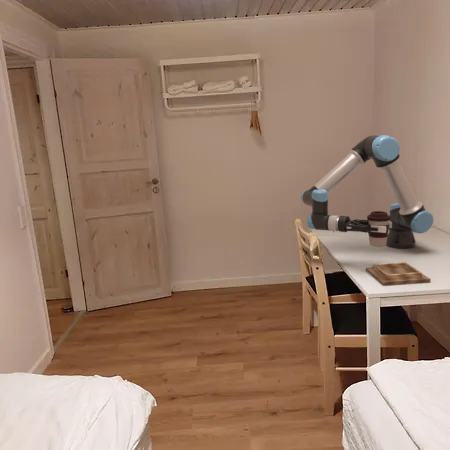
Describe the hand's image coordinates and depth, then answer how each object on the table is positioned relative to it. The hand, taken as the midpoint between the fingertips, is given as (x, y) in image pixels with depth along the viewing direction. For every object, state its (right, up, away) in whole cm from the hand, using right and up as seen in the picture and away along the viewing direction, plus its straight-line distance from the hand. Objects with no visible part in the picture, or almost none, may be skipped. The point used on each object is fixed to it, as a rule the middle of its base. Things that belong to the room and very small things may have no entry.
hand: (388, 227), depth 195 cm
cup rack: (+2, -21, -4) cm, 22 cm away
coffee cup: (-3, -8, +4) cm, 10 cm away
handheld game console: (+9, -2, +84) cm, 85 cm away
